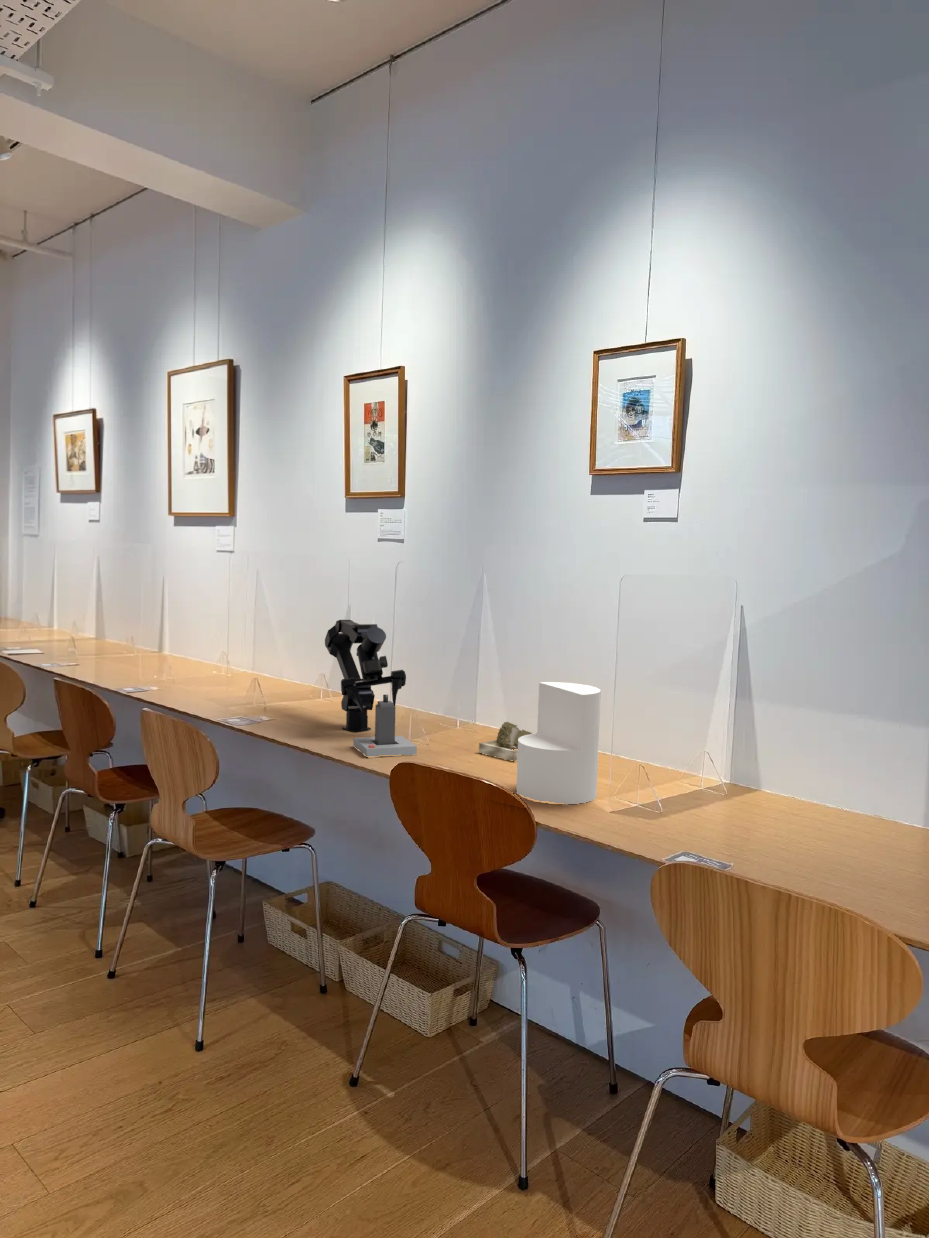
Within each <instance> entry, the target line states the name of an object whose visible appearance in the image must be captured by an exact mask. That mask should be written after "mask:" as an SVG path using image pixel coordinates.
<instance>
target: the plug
mask: <svg viewBox="0 0 929 1238" xmlns="http://www.w3.org/2000/svg"><path fill="white" fill-rule="evenodd" d="M374 710H375V715H374V717H375V721H374V737H375V744H376V745H391V744H395V736H396V705H395V706H394V703H393V701H391V700H389V694H383V695H382V700H378V701H377V704H375V709H374Z"/></svg>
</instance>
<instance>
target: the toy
mask: <svg viewBox="0 0 929 1238" xmlns="http://www.w3.org/2000/svg"><path fill="white" fill-rule="evenodd" d="M529 734H534V733H533V732H530V731H527V730H526V729H525V730H524V729H519V727H518V725H517V724H515V723H511V722H509V721H504V722H503V723H502V725H501V727H500V728H499V729H498V733H497V736H496V740H498V744H500V743H501V744H502V745H503V748H504V747H505V748H506V747H508V746H515V747H516V748H517V749H518V738H520V737H521V736H524V735H529Z"/></svg>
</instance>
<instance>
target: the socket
mask: <svg viewBox="0 0 929 1238" xmlns="http://www.w3.org/2000/svg"><path fill="white" fill-rule="evenodd" d="M352 740H353V742H352V743H353V744H352V746H355V747H356V748H357V749H359V750H360V751H361V752H362V753H364V754H365V755H366V756H379V755H399V754H401V755H413V754H417V753H418V751H417V749H418V746H417V745H416V744H414V743H413V742H411V741H410V740H408V739H407V738H405V737H404V736H402V735H395V744H391V745H376V744H375V736H367V737H366V736H365V737H354V738H353V739H352ZM413 756H414V755H413Z"/></svg>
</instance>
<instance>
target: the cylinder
mask: <svg viewBox="0 0 929 1238" xmlns="http://www.w3.org/2000/svg"><path fill="white" fill-rule="evenodd" d="M601 692H602V690H601V689H600V688H598V687H596V686H594V685H588V684H581V683H575V682H574V683H573V682H563V681H562V682H561V681H560V682H559V681H558V682H556V681H549V682H548V681H541V682H539V683H538V700H537V701H538V703H537V705H538V706H537V708H538V709H537V711H538V712H537V733H533V734H529V735H524V736H521V737H520V738H518V760H517V762H516V763H517V765H516V768H517V769H516V790H517V792H516V793H518V794H521V795H523V796H524V797H529V798H531V799H534V800H539V801H549V802H555V803H564V804H566V803H567V804H577V803H578V805H580V804H579V803H584V804H587V803H586V802H588V803H590V802H589V801H591V802H593V801H595V800H594V799H597V790H598V770H599V769H598V766H599V765H598V764H599V746H600V745H599V741H600V721H601V720H600V718H601V717H600V716H601Z"/></svg>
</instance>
